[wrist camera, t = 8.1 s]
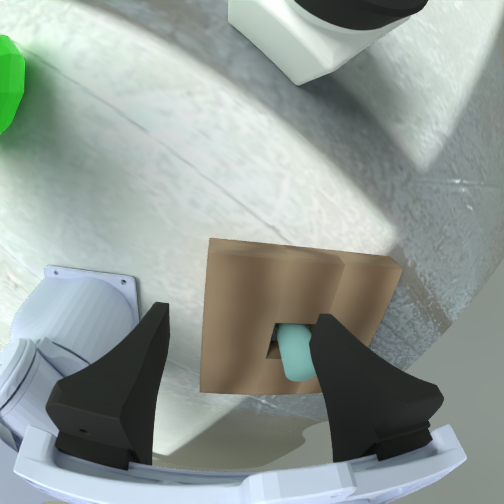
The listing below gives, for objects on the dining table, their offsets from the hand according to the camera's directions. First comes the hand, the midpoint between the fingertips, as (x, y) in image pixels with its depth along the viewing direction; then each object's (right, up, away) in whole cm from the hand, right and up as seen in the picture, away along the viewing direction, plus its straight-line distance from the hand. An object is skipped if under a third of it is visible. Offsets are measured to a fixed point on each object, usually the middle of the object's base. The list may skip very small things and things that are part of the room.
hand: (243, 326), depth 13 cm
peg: (+4, -3, +13) cm, 14 cm away
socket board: (+4, -3, +13) cm, 14 cm away
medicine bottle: (+4, +19, +2) cm, 20 cm away
